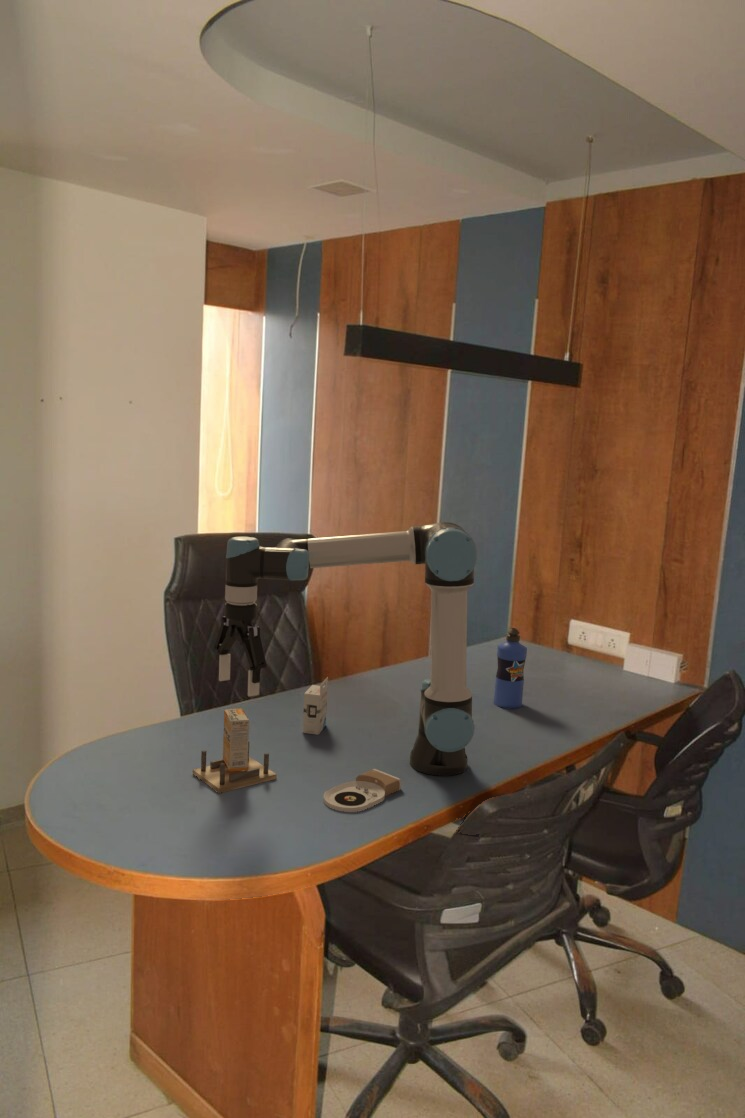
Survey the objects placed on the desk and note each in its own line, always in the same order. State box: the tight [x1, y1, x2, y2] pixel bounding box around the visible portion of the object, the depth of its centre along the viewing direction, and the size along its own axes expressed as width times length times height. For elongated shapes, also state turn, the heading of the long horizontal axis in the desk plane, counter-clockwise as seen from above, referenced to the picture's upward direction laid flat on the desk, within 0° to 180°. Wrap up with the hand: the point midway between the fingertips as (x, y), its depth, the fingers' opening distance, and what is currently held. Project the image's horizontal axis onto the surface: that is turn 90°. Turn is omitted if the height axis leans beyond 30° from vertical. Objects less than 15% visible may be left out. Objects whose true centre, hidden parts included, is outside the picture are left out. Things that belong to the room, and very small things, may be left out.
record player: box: [322, 768, 403, 813], centre depth 212 cm, size 12×3×20 cm
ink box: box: [302, 676, 329, 735], centre depth 253 cm, size 9×5×15 cm, turn 168°
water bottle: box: [493, 627, 528, 710], centre depth 284 cm, size 9×9×25 cm
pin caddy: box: [192, 740, 277, 794], centre depth 218 cm, size 13×16×6 cm
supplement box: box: [222, 708, 250, 772], centre depth 217 cm, size 8×5×13 cm, turn 21°
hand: (238, 687), depth 215 cm, fingers open, 13 cm apart
